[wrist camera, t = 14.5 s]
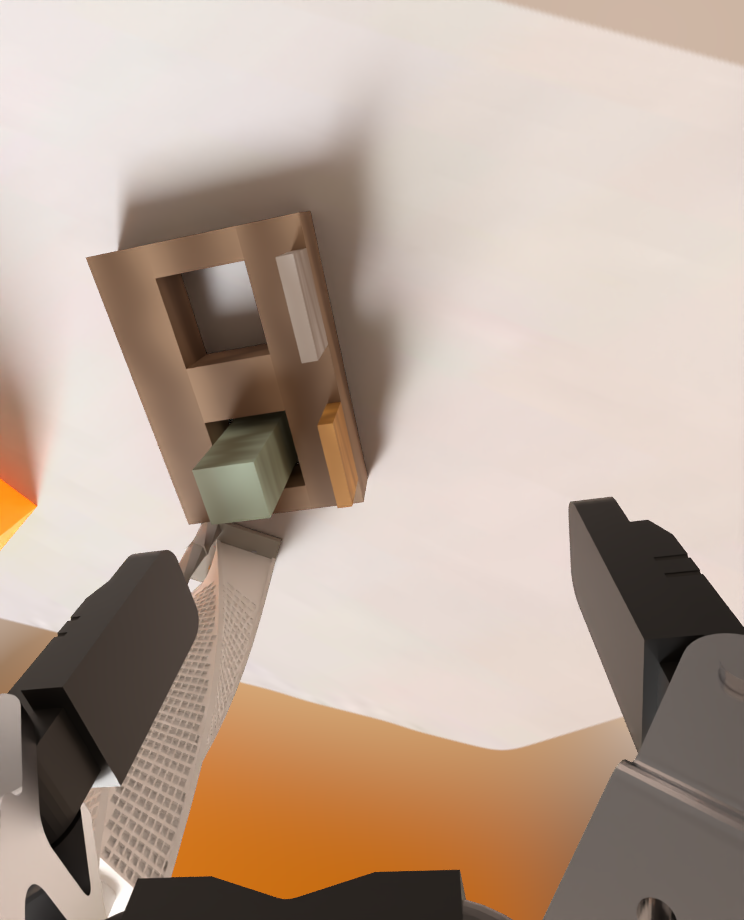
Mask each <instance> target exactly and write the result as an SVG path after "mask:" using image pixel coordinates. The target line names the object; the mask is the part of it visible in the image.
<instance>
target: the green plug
mask: <svg viewBox="0 0 744 920" xmlns="http://www.w3.org/2000/svg"><path fill="white" fill-rule="evenodd" d="M297 459H298V456H297V452H296V449H295V445H294V441H293V438H292V434H291V430H290V427H289V423H288V419H287V416H286V412H285V410H284V411H278V412H272V413H265V414H259V415H253V416H246V417H240V418H235V419H234V420H233V422H232V423H231V424H230V425H229V426H228V428H227V429H226V430H225V431H224V432H223V434H222V435H221V436H220V437H219V438H218V440H217V441H216V442H215V443H214V445H213V446H212V447H211V448H210V449H209V451H208V452H207V453H206V454H205V455H204V457H203V458H202V459H201V460H200V461H199V463H198V464H197V465H196V466H195V467H194V469H193V470H192V472H193V474H194V477H195V480H196V483H197V486H198V488H199V491H200V494H201V497H202V500H203V503H204V505H205V508H206V511H207V514H208V517H209V519H210V522H211V525H216V524H224V523H232V522H241V521H249V520H257V519H266V518H271V516H272V513H273V511H274V509H275V507H276V505H277V503H278V500H279V498H280V496H281V494H282V492H283V490H284V487H285V485H286V483H287V481H288V479H289V476H290V474H291V472H292V470H293V468H294V466H295V463H296V461H297Z"/></svg>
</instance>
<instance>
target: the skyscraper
mask: <svg viewBox="0 0 744 920" xmlns="http://www.w3.org/2000/svg"><path fill="white" fill-rule="evenodd" d="M281 541H282V539H280V538H276V537H273V536H270V535H267V534H264V533H261V532H258V531H255V530H252V529H249V528H246V527H243V526H240V525H237V524H233V523H224V524H216V525H211V522H205V523H201V526H200V528H199V530H198V532H197V535H196V537H195V538H194V540H193V541H192V542H191V544H190V545H189V546H188V547H186V552H185V554H184V556H183V557H182V559H181V561H180V563H179V565H180V568H181V570H182V572H183V575H184V577H185V580H186V582H187V585H188V582H189V580H190V579H193V580H196V581H200V582H203V583H201V584H200V585H199V586H198V587H197V588H196V589H195V590H194V591H193V592H192V593H191V594H192V597H193V599H194V602H195V604H196V607H197V610H198V616H199V627H198V633H197V636H196V639H195V641H194V643H193V645H192V647H191V649H190V651H189V653H188V655H187V657H186V659H185V661H184V663H183V665H182V666H181V668H180V670H179V672H178V674H177V676H176V678H175V680H174V682H173V684H172V686H171V688H170V690H169V692H168V694H167V696H166V698H165V700H164V702H163V704H162V706H161V708H160V710H159V712H158V714H157V716H156V718H155V720H154V722H153V724H152V726H151V728H150V730H149V732H148V734H147V736H146V738H145V740H144V742H143V744H142V746H141V748H140V750H139V752H138V754H137V756H136V758H135V760H134V762H133V764H132V766H131V767H130V769H129V771H128V773H127V775H126V777H125V779H124V781H123V783H122V785H121V786H118V787H100V788H91V789H90V791H89V793H88V795H87V796H86V798H85V800H84V802H85V804H86V805H87V807H88V809H89V810H90V814H91V819H92V826H93V832H94V839H95V846H96V853H97V859H98V866H99V873H100V879H101V886H102V893H103V900H104V906H105V910H106V914H107V918H109V917H111V916H113V915H115V914H117V913H120V912H122V911H124V910H125V908H126V906H127V903H128V901H129V898H130V896H131V893H132V891H133V889H134V886H135V884H136V881H137V879H138V878H171V875H172V872H173V868H174V865H175V861H176V858H177V855H178V851H179V847H180V844H181V840H182V837H183V833H184V829H185V826H186V822H187V819H188V815H189V811H190V808H191V804H192V801H193V796H194V793H195V789H196V785H197V781H198V777H199V773H200V769H201V766H202V761H203V760H204V758H205V756H206V754H207V752H208V750H209V748H210V746H211V745H212V743H213V741H214V739H215V737H216V735H217V733H218V731H219V729H220V727H221V724H222V722H223V720H224V718H225V716H226V714H227V712H228V709H229V707H230V704H231V702H232V700H233V697H234V695H235V692H236V690H237V687H238V685H239V682H240V680H241V677H242V674H243V672H244V669H245V666H246V663H247V660H248V657H249V654H250V651H251V648H252V645H253V642H254V638H255V635H256V632H257V629H258V625H259V622H260V618H261V615H262V611H263V607H264V604H265V600H266V596H267V592H268V588H269V584H270V580H271V576H272V572H273V568H274V564H275V560H276V556H277V553H278V550H279V547H280V544H281Z"/></svg>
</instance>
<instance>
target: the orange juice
mask: <svg viewBox="0 0 744 920" xmlns="http://www.w3.org/2000/svg"><path fill="white" fill-rule="evenodd" d="M36 507H37V506H36V505H35V504H34V503H32V502H31V501H30V500H28V499H27V498H26V497H24V496H23V495H22V494H20V493H19V492H17V491H16V490H15V489H13V488H12V487H11V486H9V485H8V484H7V483H5V482H4V481H3V480H1V479H0V550H1V549H2V548H3V547H4V545H5V544H6V543H7V542H8V541H9V539H10V538H11V537H12V536H13V535H14V533H15V532H16V531H17V530H18V529H19V527H20V526H21V525H22V524H23V523H24V521H25V520H26V519H27V518H28V517H29V515H30V514H31V513H32V512H33V511H34V509H35V508H36Z"/></svg>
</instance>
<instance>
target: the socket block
mask: <svg viewBox="0 0 744 920" xmlns="http://www.w3.org/2000/svg"><path fill="white" fill-rule="evenodd" d="M86 259H87V262H88V265H89V267H90V270H91V272H92V275H93V278H94V280H95V283H96V285H97V288H98V290H99V293H100V296H101V298H102V301H103V303H104V306H105V309H106V311H107V314H108V316H109V319H110V322H111V324H112V327H113V329H114V332H115V335H116V337H117V340H118V342H119V345H120V347H121V350H122V353H123V355H124V358H125V360H126V363H127V366H128V368H129V371H130V373H131V376H132V379H133V381H134V384H135V386H136V389H137V392H138V394H139V397H140V399H141V402H142V405H143V407H144V410H145V412H146V415H147V417H148V420H149V423H150V425H151V428H152V430H153V433H154V436H155V438H156V441H157V443H158V446H159V449H160V451H161V454H162V456H163V459H164V462H165V464H166V467H167V469H168V472H169V474H170V477H171V480H172V482H173V485H174V487H175V490H176V493H177V495H178V498H179V500H180V503H181V506H182V508H183V511H184V513H185V516H186V519H187V521H188V524H197V523H205V522H210V519H209V517H208V514H207V511H206V508H205V505H204V503H203V500H202V497H201V494H200V491H199V488H198V486H197V483H196V480H195V477H194V474H193V472H192V470H193V469H194V467H195V466H196V465H197V464H198V463H199V461H200V460H201V459H202V458H203V457H204V455H205V454H206V453H207V452H208V451H209V449H210V448H211V447H212V446H213V445H214V443H215V442H216V441H217V440H218V438H219V437H220V436H221V435H222V434H223V432H224V431H225V430H226V429H227V428H228V426H229V422H228V419H234V418H240V417H246V416H253V415H259V414H265V413H272V412H278V411H284V410H285V412H286V416H287V419H288V423H289V427H290V430H291V434H292V438H293V441H294V445H295V449H296V452H297V456H298V460H299V463H300V464H299V465H295V466H294V468H293V470H292V472H291V474H290V476H289V479H288V481H287V483H286V485H285V487H284V490H283V492H282V494H281V496H280V498H279V500H278V503H277V505H276V507H275V509H274V511H273V513H272V514H275V513H282V512H290V511H298V510H306V509H314V508H321V507H329V506H337V507H338V508H343V507H351V506H352V505H353V503H360V502H364V496H365V491H366V485H367V479H368V476H367V471H366V467H365V462H364V457H363V453H362V448H361V444H360V439H359V434H358V430H357V425H356V420H355V416H354V411H353V406H352V402H351V397H350V393H349V388H348V383H347V379H346V374H345V369H344V365H343V360H342V355H341V351H340V346H339V342H338V337H337V332H336V328H335V323H334V318H333V314H332V309H331V304H330V300H329V295H328V291H327V286H326V281H325V277H324V272H323V267H322V263H321V258H320V254H319V249H318V244H317V240H316V235H315V230H314V226H313V221H312V216H311V212H310V211H308V212H298V213H294V214H289V215H284V216H280V217H275V218H270V219H265V220H261V221H256V222H251V223H247V224H242V225H237V226H232V227H228V228H223V229H218V230H214V231H209V232H204V233H200V234H195V235H190V236H185V237H181V238H176V239H171V240H167V241H162V242H157V243H153V244H148V245H143V246H138V247H134V248H129V249H124V250H120V251H115V252H110V253H105V254H101V255H96V256H91V257H87V258H86ZM239 261H245V265H246V268H247V272H248V276H249V279H250V283H251V287H252V290H253V294H254V298H255V301H256V305H257V309H258V312H259V316H260V320H261V323H262V327H263V331H264V335H265V338H266V342H267V344H261V345H255V346H250V347H244V348H238V349H233V350H227V351H221V352H216V353H210V354H206V351H205V348H204V345H203V341H202V338H201V335H200V332H199V329H198V326H197V323H196V320H195V316H194V313H193V310H192V307H191V304H190V301H189V298H188V295H187V292H186V288H185V285H184V282H183V279H182V276H181V273H185V272H190V271H195V270H200V269H205V268H210V267H215V266H219V265H224V264H229V263H234V262H239Z"/></svg>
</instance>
